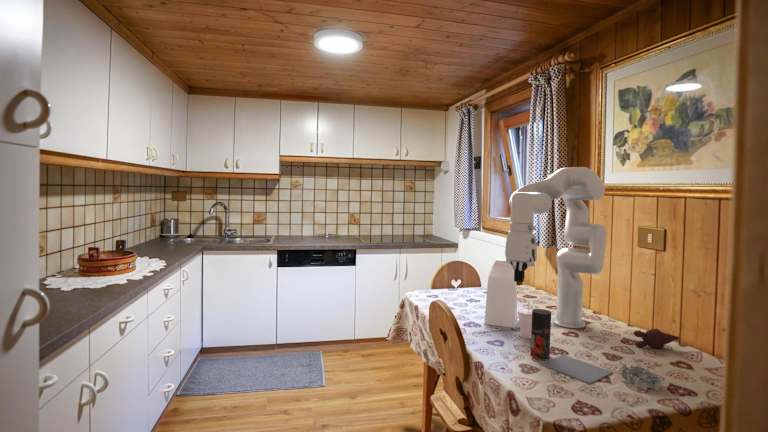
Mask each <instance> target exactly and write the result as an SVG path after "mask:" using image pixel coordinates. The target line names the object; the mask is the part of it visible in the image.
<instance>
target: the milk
mask: <svg viewBox="0 0 768 432" xmlns="http://www.w3.org/2000/svg"><path fill="white" fill-rule="evenodd" d="M517 284H518V282H515V281H514V269H513V266H512V265H511V264H510V263H508V262H506V259H495V260H494V263H493V265H492V267H491V270H490V272H489V275H488V279H487V287H486V299H485V300H486V301H485V312H484V313H485V314H484V322H483V323H484V324H485V325H492V326H498V327H505V328H514V329H515V328H516V326H517V322H518V291H517V288H518V287H517Z"/></svg>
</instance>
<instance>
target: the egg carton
mask: <svg viewBox="0 0 768 432" xmlns="http://www.w3.org/2000/svg"><path fill="white" fill-rule="evenodd" d="M619 364H621V366H622V368H621V369H620V376H621V377H622V376H623V377H622V378H627V379H626V381H627V382H629V383H631V384H634V387H635V388H637V389H641V390H643V389H644V390H643V391H646V390H648V389H652V388H653V390H654V391H660V388H661V383H662V382H661V380H663V379H664V378H663V377H661V376H659V375H658V374H657V373H656V372H653V371H652V370H650V369H649V367H648V366H644V365H641V366H640V365H635V366H634V365H632V364H631V365H630V366H629V367H627V364H626V363H623V362H622V361H619ZM637 375H638V377H637Z"/></svg>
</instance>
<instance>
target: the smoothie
mask: <svg viewBox="0 0 768 432" xmlns="http://www.w3.org/2000/svg"><path fill="white" fill-rule="evenodd" d="M532 310H533V309H530V299H528V300H527V309H524V308H520V309H517V315H518V322H519V333H520V335H519V336H520V338H522V339H526V338H529V339H531V327H532Z"/></svg>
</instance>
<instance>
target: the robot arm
mask: <svg viewBox="0 0 768 432" xmlns="http://www.w3.org/2000/svg"><path fill="white" fill-rule="evenodd" d="M605 192H606V188H605V184H604V181H603V180H602V179H601V178H600V177H599V176H598V174H597V173H596V172H595V171H594V170H593V169H591V168H589V167H587V166H576V167H573V166H572V167H571V166H570V167H562V168H559V169H557V170H556V171H554V172H553V173H551V174H550V175H549V176H548V177H546V178H545V179H542V180H538V181H536V182H531V183H528V184H525V185H523V186H522V187H519V188H518V189H517V190H515V191H514V192H513V193H512V194H511V196H510V198H509V203H508V205H509V207H510V217H509V218H510V219H509V221H510V223H509V231H508V233H507V237H506V242H505V248H504V249H505V251H504V255H505V258H506V259H505V260H506V262H508V263H510V264H511V265H512V266H513V269H514V281H515V282H517V283H522V282H525V273H526V272H525V271H526V270H527V269H528V268H531V267H535V262H536V261H537V259H538V244H537V237H536V233H535V232H534V231H535V230H536V229H537V226H536V225H534V217H535V216H534V215H535V214H536V215H543V214H546V213H548V212H549V211H550V210H551V209H552V205H553V201H554V200H557V199H559V198H560V197H561V199H562V200H563V202H564V205H565V209H566V215H565V216H566V217H565V222H564V223H565V225H564V231H563V240H564V242H565V243H566V244H569V245H571V246H577V247H579V246H580V247H588V248H590V249H581V248H576V247H575V248H574V247H565V248H561V249H560V250H558V252H557V254H556V257H555V259H556V266H557V293H556V295H557V296H556V297H557V298H556V299H557V300H556V315H555V316H554V317H552V318H551V323H553V324H554V325H556V326H559V327H563V328H566V329H567V328H569V329H582V328H586V322H585V321H584V320H583V319H582V318H584V317H586V314H587V313H586V312H584V311H583V297H584V295H583V293H584V291H583V290H584V282H583V279H582V277H581V276H580V274H587V275H595V276H596V275H597V276H598V275H599V274H601V273H602V271H603V269H604V265H605V264H604V263H605V256H606V247H607V240H608V233H607V230H606V227H605V226H603V224H599V223H591V222H590V223H589V219H590V210H589V207H588V206H587V205H586V203H585V202H584V201H599V200H601V199H602V198H603V197H604V195H605ZM579 273H580V274H579Z"/></svg>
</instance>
